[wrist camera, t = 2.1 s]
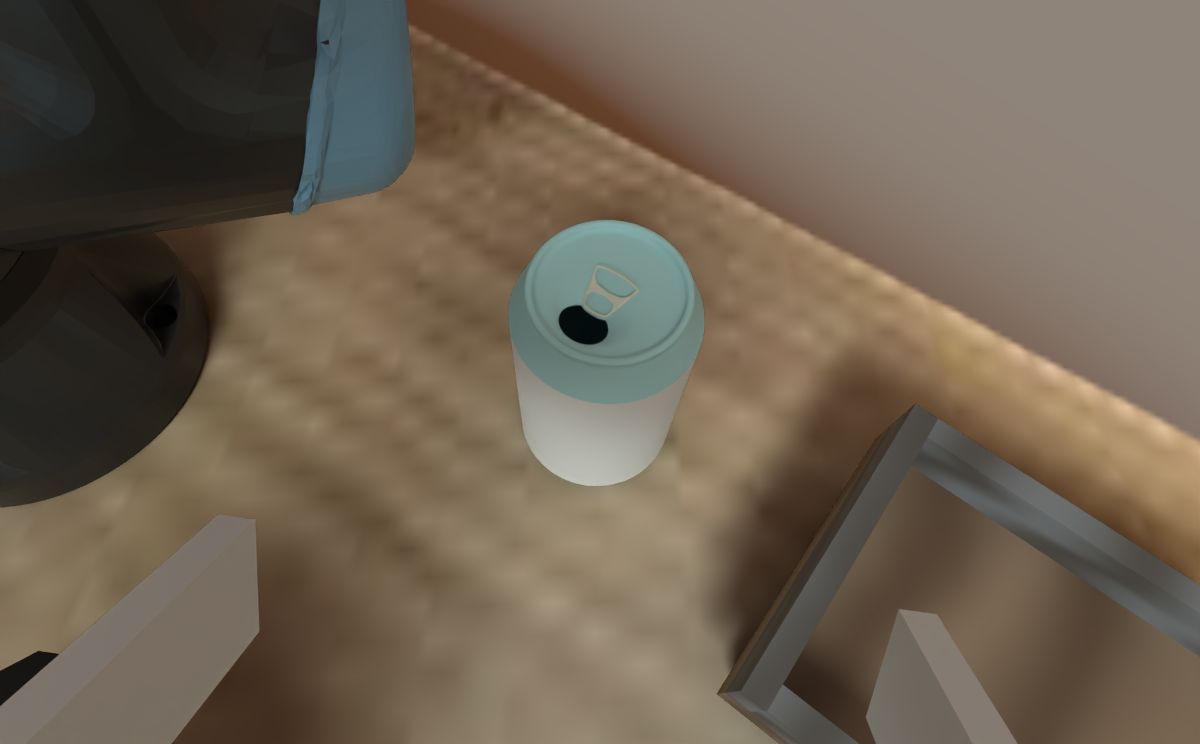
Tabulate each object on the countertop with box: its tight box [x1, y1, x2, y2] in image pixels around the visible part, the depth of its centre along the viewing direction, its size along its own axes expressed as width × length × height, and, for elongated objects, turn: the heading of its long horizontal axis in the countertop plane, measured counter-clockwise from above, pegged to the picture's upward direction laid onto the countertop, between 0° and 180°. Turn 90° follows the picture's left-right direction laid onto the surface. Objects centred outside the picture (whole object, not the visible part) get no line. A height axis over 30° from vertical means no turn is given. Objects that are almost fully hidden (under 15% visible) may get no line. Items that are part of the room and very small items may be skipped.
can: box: [508, 220, 705, 486], centre depth 29 cm, size 7×7×12 cm
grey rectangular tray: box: [717, 404, 1200, 744], centre depth 27 cm, size 18×13×7 cm
